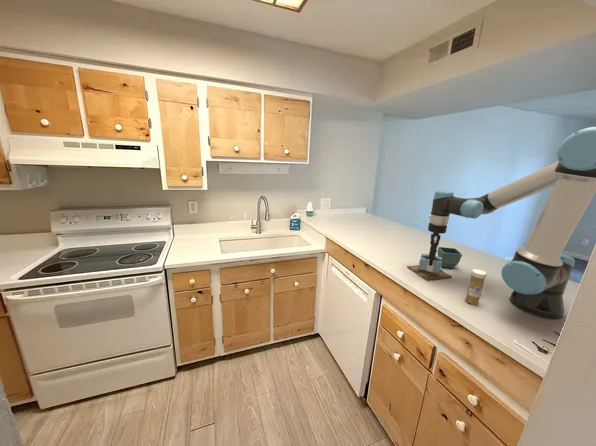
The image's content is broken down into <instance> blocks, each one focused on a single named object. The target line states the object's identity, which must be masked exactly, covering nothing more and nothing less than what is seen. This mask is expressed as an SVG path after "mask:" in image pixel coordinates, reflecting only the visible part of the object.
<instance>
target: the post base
mask: <svg viewBox="0 0 596 446" xmlns="http://www.w3.org/2000/svg"><path fill="white" fill-rule="evenodd" d="M429 254H430V253H428V257H429ZM407 269H408V270H410V271H411V272H413V273H414V274H416V275H417V276H419V277H421V278H422V279H423V280H425V281H426V282H431V281H440V280H448V279H453V275H451V274H449V273H447V272H445V271H444V270H441V269H442V268H441V269H440V273H436V272H430V271H426V270H423V269H419V264H417V265H416V264H415V265H407Z"/></svg>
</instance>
